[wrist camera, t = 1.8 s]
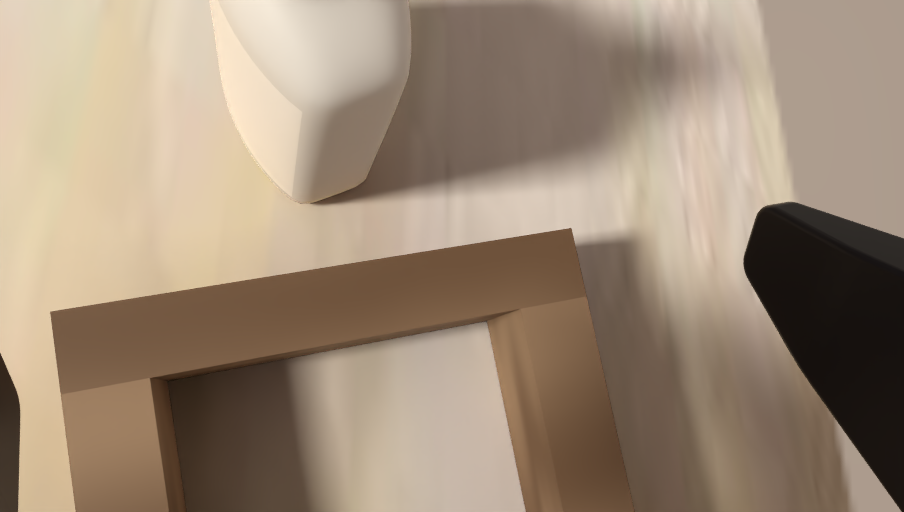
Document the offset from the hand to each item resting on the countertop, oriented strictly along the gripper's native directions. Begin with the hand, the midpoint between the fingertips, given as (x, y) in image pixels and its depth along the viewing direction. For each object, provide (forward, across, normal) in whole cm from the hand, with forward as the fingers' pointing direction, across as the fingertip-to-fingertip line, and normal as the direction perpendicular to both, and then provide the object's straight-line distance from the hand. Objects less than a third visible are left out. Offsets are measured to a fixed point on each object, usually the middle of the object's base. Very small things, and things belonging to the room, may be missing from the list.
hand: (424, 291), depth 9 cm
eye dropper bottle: (+13, 0, +4) cm, 14 cm away
